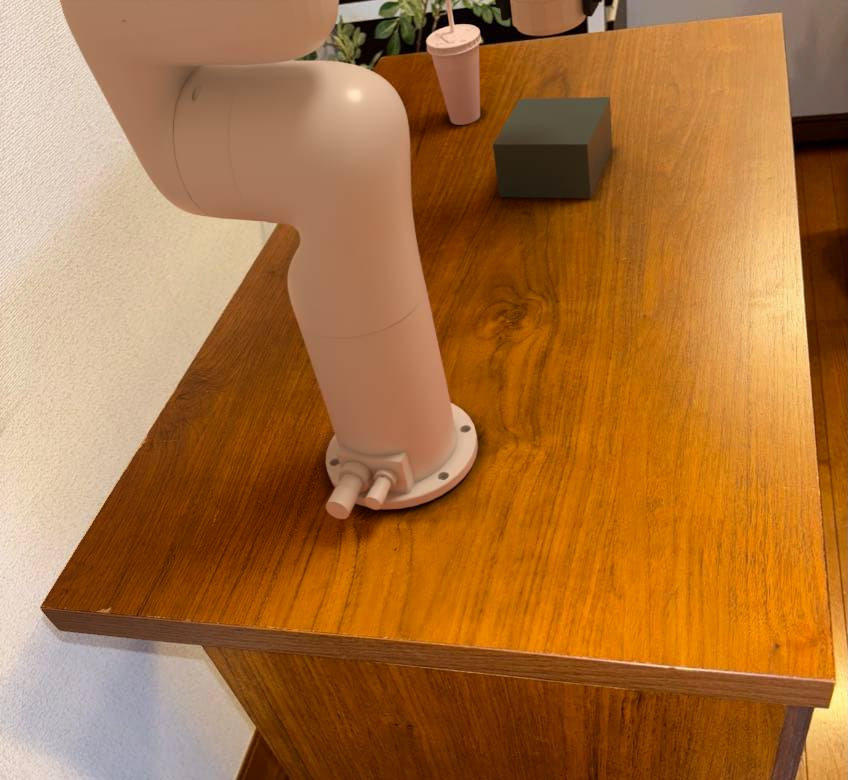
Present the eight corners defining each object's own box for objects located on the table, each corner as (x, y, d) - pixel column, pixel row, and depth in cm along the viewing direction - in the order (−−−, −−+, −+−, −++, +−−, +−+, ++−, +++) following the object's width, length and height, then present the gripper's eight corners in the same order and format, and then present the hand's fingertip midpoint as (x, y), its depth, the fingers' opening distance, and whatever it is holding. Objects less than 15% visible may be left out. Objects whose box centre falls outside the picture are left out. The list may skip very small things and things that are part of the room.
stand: (590, 199, 102) (587, 144, 98) (499, 197, 106) (492, 144, 101) (612, 150, 108) (610, 96, 104) (525, 150, 112) (519, 98, 107)
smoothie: (492, 101, 121) (476, -20, 111) (489, 126, 117) (473, 2, 107) (441, 108, 123) (421, -11, 112) (437, 133, 118) (415, 11, 108)
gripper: (415, -191, 80) (450, 34, 93) (628, -220, 74) (634, 26, 87) (446, -218, 84) (475, 0, 97) (649, -247, 78) (651, -9, 91)
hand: (550, 11), depth 92 cm, fingers closed on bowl, 7 cm apart
